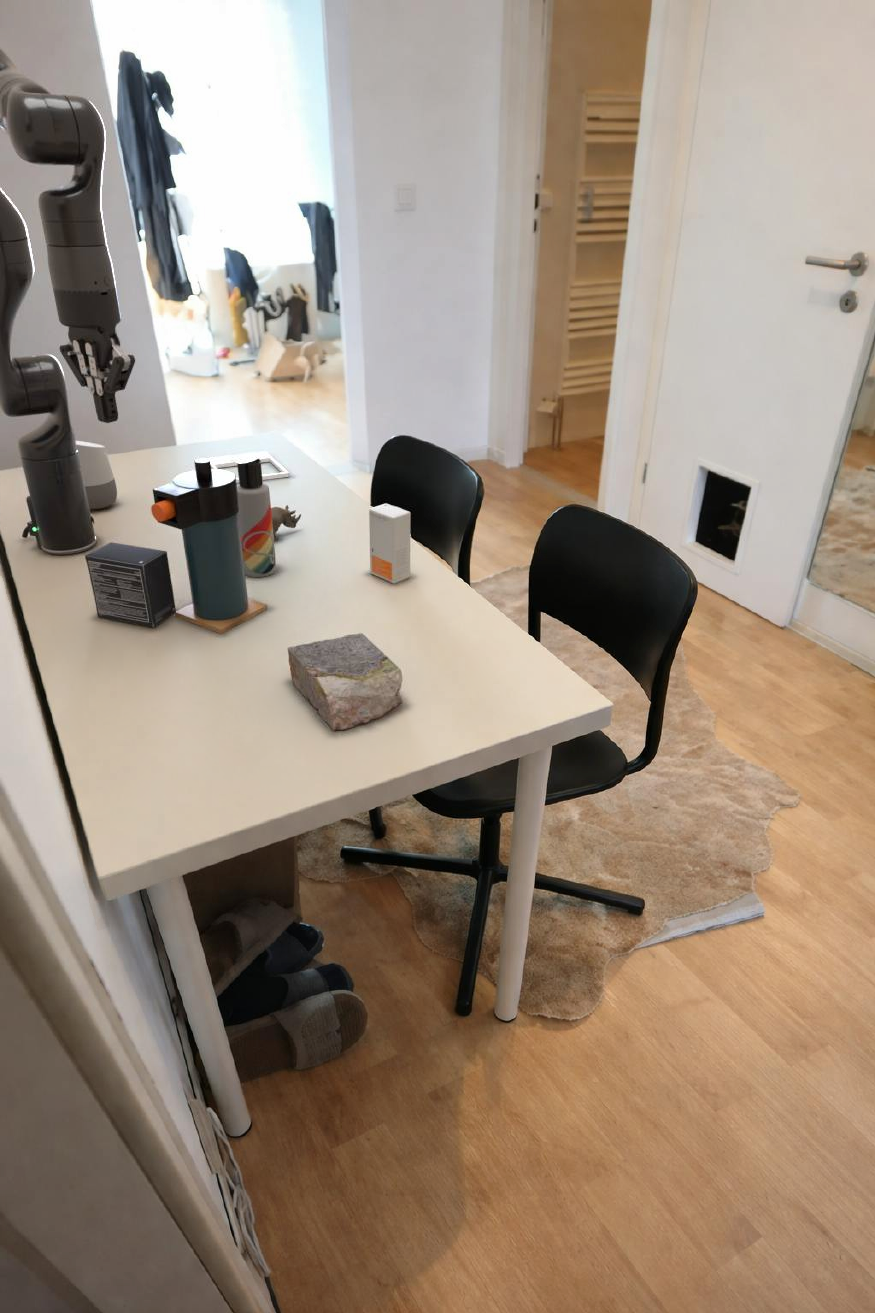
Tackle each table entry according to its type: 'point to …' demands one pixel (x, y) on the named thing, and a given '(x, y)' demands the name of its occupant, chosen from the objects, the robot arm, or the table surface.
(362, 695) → the geological specimen
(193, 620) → the coaster
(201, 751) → the table surface
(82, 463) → the smart speaker
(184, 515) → the drink bottle
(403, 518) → the cosmetic box
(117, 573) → the small box
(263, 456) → the photo frame
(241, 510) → the lotion bottle
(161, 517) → the button
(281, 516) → the rhino figurine
